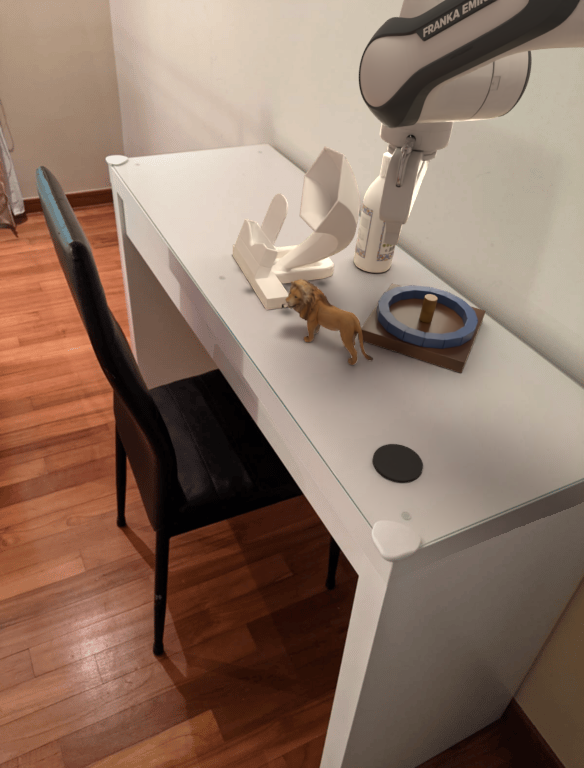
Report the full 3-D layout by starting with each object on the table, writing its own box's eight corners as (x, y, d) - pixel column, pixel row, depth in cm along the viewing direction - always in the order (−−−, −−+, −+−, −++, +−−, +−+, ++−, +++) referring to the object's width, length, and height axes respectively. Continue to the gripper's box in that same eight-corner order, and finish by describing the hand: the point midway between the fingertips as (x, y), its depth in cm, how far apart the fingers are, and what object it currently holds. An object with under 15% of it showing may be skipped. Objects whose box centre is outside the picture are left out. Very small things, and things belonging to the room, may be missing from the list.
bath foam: (394, 260, 114) (417, 152, 101) (386, 277, 108) (409, 165, 96) (358, 252, 115) (376, 144, 102) (348, 268, 110) (366, 156, 97)
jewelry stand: (232, 255, 110) (235, 109, 94) (311, 246, 115) (327, 107, 99) (280, 332, 93) (294, 169, 77) (370, 318, 98) (401, 163, 82)
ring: (483, 311, 99) (485, 302, 98) (462, 360, 88) (465, 351, 86) (393, 284, 103) (395, 276, 102) (363, 328, 92) (365, 319, 91)
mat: (427, 456, 75) (428, 454, 74) (414, 490, 70) (415, 487, 70) (381, 439, 76) (382, 437, 76) (365, 471, 72) (366, 468, 72)
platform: (482, 321, 100) (493, 289, 96) (461, 373, 88) (472, 339, 85) (389, 293, 104) (396, 261, 101) (358, 339, 93) (364, 306, 89)
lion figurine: (276, 336, 92) (281, 284, 86) (294, 320, 95) (299, 269, 90) (365, 372, 87) (375, 319, 81) (380, 353, 90) (391, 302, 85)
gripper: (432, 154, 68) (408, 265, 77) (448, 110, 84) (427, 206, 93) (377, 145, 69) (359, 255, 78) (403, 103, 85) (386, 199, 94)
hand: (396, 228), depth 85 cm, fingers open, 8 cm apart
